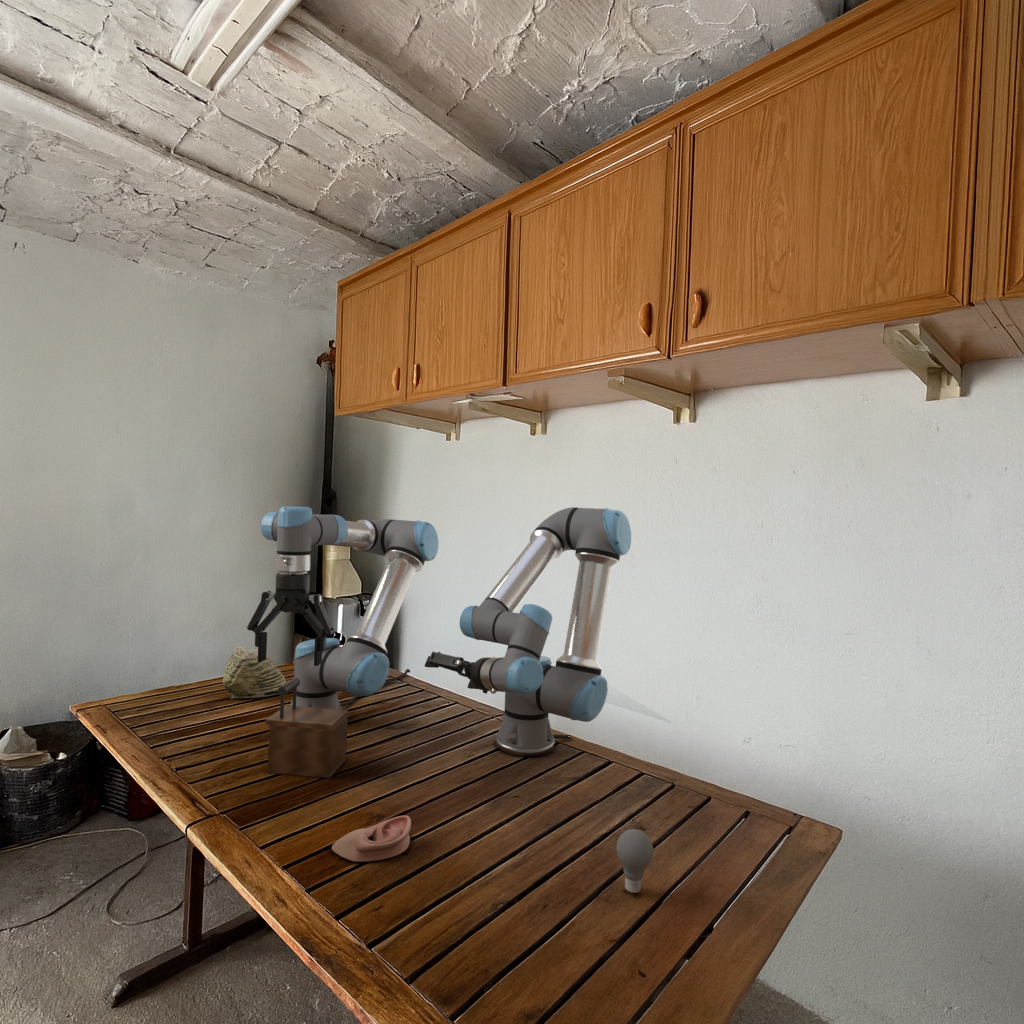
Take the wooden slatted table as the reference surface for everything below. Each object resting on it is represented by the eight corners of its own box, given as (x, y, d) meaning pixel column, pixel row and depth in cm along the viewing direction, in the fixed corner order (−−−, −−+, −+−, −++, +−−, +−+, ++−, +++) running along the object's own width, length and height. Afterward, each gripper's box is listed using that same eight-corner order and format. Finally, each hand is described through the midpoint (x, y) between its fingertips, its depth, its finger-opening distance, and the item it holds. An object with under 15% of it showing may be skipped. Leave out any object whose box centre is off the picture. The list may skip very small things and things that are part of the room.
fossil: (218, 695, 195) (220, 647, 195) (278, 685, 208) (279, 640, 207) (228, 703, 189) (230, 653, 188) (289, 692, 201) (290, 645, 201)
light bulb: (610, 879, 108) (613, 822, 108) (644, 879, 109) (647, 822, 109) (619, 902, 102) (622, 840, 102) (655, 901, 103) (658, 840, 103)
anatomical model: (323, 834, 111) (353, 804, 123) (323, 856, 111) (352, 824, 123) (394, 845, 109) (418, 814, 120) (393, 868, 109) (417, 834, 120)
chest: (267, 772, 144) (269, 725, 144) (287, 755, 154) (289, 710, 154) (330, 778, 143) (331, 730, 142) (346, 759, 153) (347, 715, 153)
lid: (265, 724, 144) (266, 687, 144) (285, 710, 154) (286, 675, 154) (331, 729, 142) (333, 692, 142) (347, 714, 153) (349, 679, 152)
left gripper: (233, 571, 145) (230, 663, 146) (338, 577, 143) (335, 670, 143) (250, 567, 153) (247, 655, 153) (350, 573, 151) (347, 662, 151)
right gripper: (442, 667, 138) (402, 666, 156) (528, 710, 148) (482, 705, 166) (455, 635, 142) (414, 638, 159) (538, 680, 152) (492, 677, 169)
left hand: (289, 662), depth 148 cm, fingers open, 13 cm apart
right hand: (449, 672), depth 162 cm, fingers open, 13 cm apart
